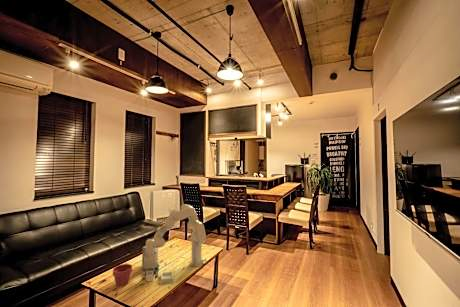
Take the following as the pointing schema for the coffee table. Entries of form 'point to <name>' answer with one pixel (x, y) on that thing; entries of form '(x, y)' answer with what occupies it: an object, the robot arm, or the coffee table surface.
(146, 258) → the robot arm
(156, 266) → the bay
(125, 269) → the plant pot
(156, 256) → the hard drive box
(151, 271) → the capped cream block
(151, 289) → the coffee table surface
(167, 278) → the tray
